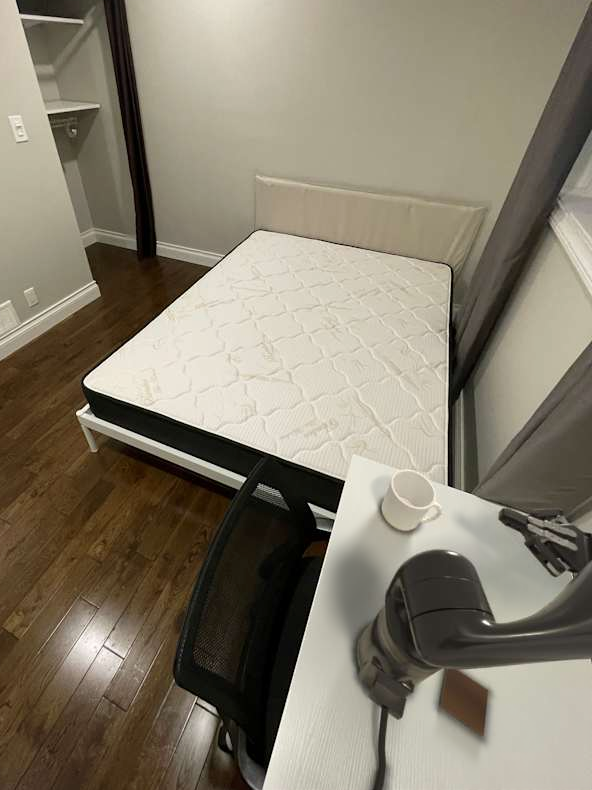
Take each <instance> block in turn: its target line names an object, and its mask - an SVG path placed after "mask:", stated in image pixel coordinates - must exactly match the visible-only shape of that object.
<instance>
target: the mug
mask: <svg viewBox="0 0 592 790" xmlns="http://www.w3.org/2000/svg"><path fill="white" fill-rule="evenodd" d="M435 488H436V487H435V486H434V484H433V483H432V481H431V480H430V479H429V478H427V476H425V475H424V474H422V473H421V472H418V471H417V470H413V469H406V468H404V469H400V470H398V471H396V472H395V473H394V474H393V475H392V477H391V479H390V482H389V484H388V487H387V489H386V492H385V494H384V495H385V496H384V498H383V501H382V503H381V513H382V516H383V518H384V520H385V521H386V522H387V524H389V525H390V526H391V527H392V528H394V529H396V530H399V531H403V532H404V531H405V532H409V531H413V530H414V529H416V528H417V526H418V525H419V523H423V524H426V523H430V522H434V521H435V520H437V519H439V518H440V517H441V515H442V514H443V508H442V506H441V504H440V503H438V502H437V501H436V500H437V491H436V489H435ZM432 507H433V508H435V510H436V513H434V514H432V515H430V516H428V517H425V516H426V515H427V513H428V512H429V511H430V510H431V508H432Z"/></svg>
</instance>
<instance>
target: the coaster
mask: <svg viewBox="0 0 592 790" xmlns="http://www.w3.org/2000/svg"><path fill="white" fill-rule="evenodd" d="M444 673H445V674H444V679H443V685H442V690H441V696H440V703H439V707H440V708H441V709H442V710H444V711H445V712H446V713H448V714H449V715H451V716H452V717H453V718H455V719H456V720H458V721H459V722H460V723H461V724H463V725H464V726H466V727H467V728H468V729H470V730H471V731H473V732H474V733H476V734H477V735H478V736H480V737H484V735H485V725H486V717H487V706H488V697H489V690H488V689H487V688H486V687H484V686H483V685H481V684H480V683H478V682H477V681H476V680H474V679H473V678H471V677H469V676H468V675H466V674H465V673H463V672H462V671H460V669H445V672H444Z"/></svg>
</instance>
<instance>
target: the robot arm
mask: <svg viewBox="0 0 592 790" xmlns="http://www.w3.org/2000/svg"><path fill="white" fill-rule="evenodd" d="M565 514H566V512H565V509H563V508H561V507H551V508H540V509H532V510H531V512H529V514H528V515H525V514H522V513H520V512H519V511H516V510H514V509H512V508H509V507H503V508H501V509H500V511H499V512H498V517H497V519H498V521H500V522H501V524H502V525H504V526H505V527H508V528H509V529H512V530H514V531H516V532H518V533H520V535H521V536H522V537H524V541H523V543H524V546H525V547H526V549H528V551H529V552H530V553H531V554H532V555H533V556H534V557H535V558H536V559H537V561H538V562H539V563H540V564H541V565H542V567H543V568H544V569H545V570H546V571H547V572H548V573H549V574H550V575H551V576H552V577H554V578H558V577H560V576H561V575H563V574H564V573H565V572H569V573H572V574H576V575H574V577H573V578H572V579H570V581H569V582H568V583H567V585H566V586H565V587H564V588H563V589H562V590H561V592H559V593H558V594H557V596H555V597H554V598H553V599H551V601H550V602H548V603H547V604H546V605H544V607H542V608H541V609H539V610H538V611H536V612H535V613H532V614H530V615H529V616H526V617H524V618H520V619H516V620H513V621H509V622H497V620H496V618H495V615H494V613H493V610H492V607H491V604H490V602H489V600H488V597H487V595H486V591H485V589H484V586H483V583H482V580H481V579H480V576H479V574H478V571H477V569H476V567H475V565H474V564H473V563H472V561H471V560H470V559H469V558H468V557H466V556H465V555H463V554H461V553H459V552H457V551H454V550H451V549H444V548H438V549H436V548H435V549H427V550H423V551H420V552H418V553H416V554H414V555H412V556H410V557H409V558H407V559H406V560H404V561H403V562H402V563H401V564H400V565H399V566H398V568H397V569H396V571H395V572H394V575H393V577H392V578H391V581H390V582H389V584H388V587H387V588H386V591H385V594H384V604H383V606H382V607H381V608H380V610H379V611H378V612H377V614H375V617H374V618H373V619H372V621H371V622H370V623H369V625H368V626H367V627H366V629H365V630H363V632H362V633H361V635H360V636H359V639H358V642H357V646H356V658H357V663H358V667H359V672H358V678H359V679H360V680H362V682H364V683H365V684H367V685H368V686H370V687H371V689H370V692H369V696H368V698H369V699H370V700H371V701H372V702H373V703H374V704H376V705H377V706H379V707H380V708H381V709H380V718H379V727H378V739H377V754H378V756H377V757H378V766H377V773H376V777H375V782H374V787H373V790H383V787H384V782H385V777H386V771H387V769H386V768H387V760H386V758H387V757H386V740H387V738H386V737H387V729H388V718H389V715H391V717H393V718H395V719H396V720H397V721H399V720H401V719H402V718H403V715H404V712H405V707H406V703H407V698H408V697H409V696H411V695H412V694H414V692H415V691H414V690H415V688H416V686H418V685H419V684H421V683H422V682H424V681H425V680H427V679H428V678H430V677H431V676H433V675H434V674H436V673H438V672H440V671H441V670H443V669H445V670H446V669H457V670H477V669H490V668H500V667H510V666H511V667H512V666H520V665H530V664H541V663H542V664H543V663H550V662H551V663H553V662H562V661H577V660H592V532H585V531H583V530H582V529H580V528H578V526H577V525H575V524H573V523H569V521H568V520H567V519H566V517H565V516H564V515H565Z"/></svg>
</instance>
